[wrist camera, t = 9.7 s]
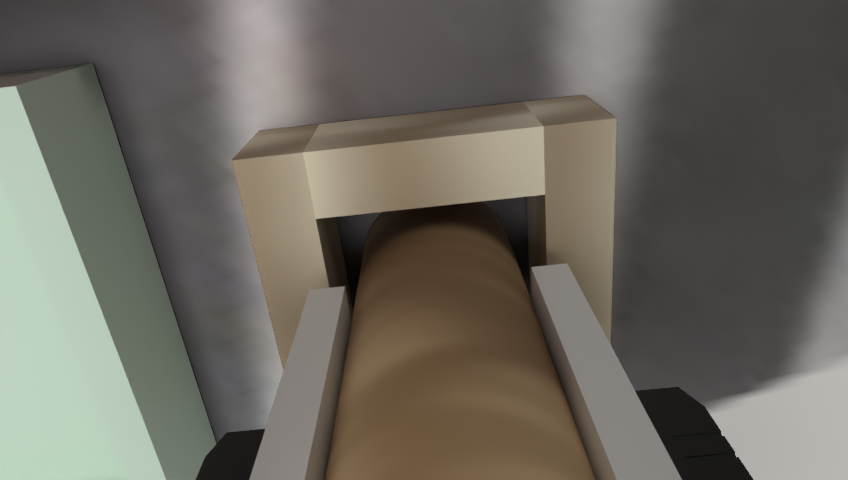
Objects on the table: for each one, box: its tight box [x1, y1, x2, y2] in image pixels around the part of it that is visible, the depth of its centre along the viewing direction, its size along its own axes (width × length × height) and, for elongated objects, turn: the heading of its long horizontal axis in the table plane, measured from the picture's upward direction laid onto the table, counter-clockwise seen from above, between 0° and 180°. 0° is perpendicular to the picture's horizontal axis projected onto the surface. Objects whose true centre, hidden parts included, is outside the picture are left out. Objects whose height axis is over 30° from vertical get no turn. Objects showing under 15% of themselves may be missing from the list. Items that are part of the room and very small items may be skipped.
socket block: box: [232, 95, 617, 370], centre depth 15 cm, size 8×8×2 cm
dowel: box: [325, 201, 596, 480], centre depth 10 cm, size 4×4×14 cm
